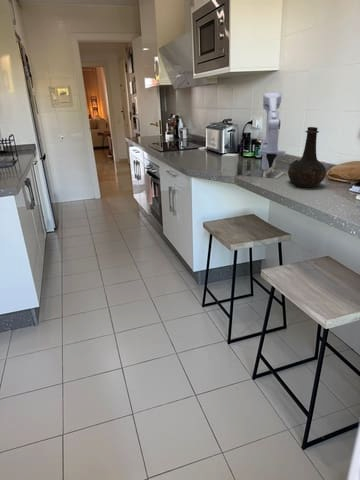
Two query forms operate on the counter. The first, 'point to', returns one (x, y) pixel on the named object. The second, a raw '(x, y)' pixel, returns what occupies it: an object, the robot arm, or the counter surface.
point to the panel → (265, 175)
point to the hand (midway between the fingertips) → (270, 167)
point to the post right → (248, 164)
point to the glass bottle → (308, 164)
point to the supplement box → (230, 165)
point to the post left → (240, 168)
